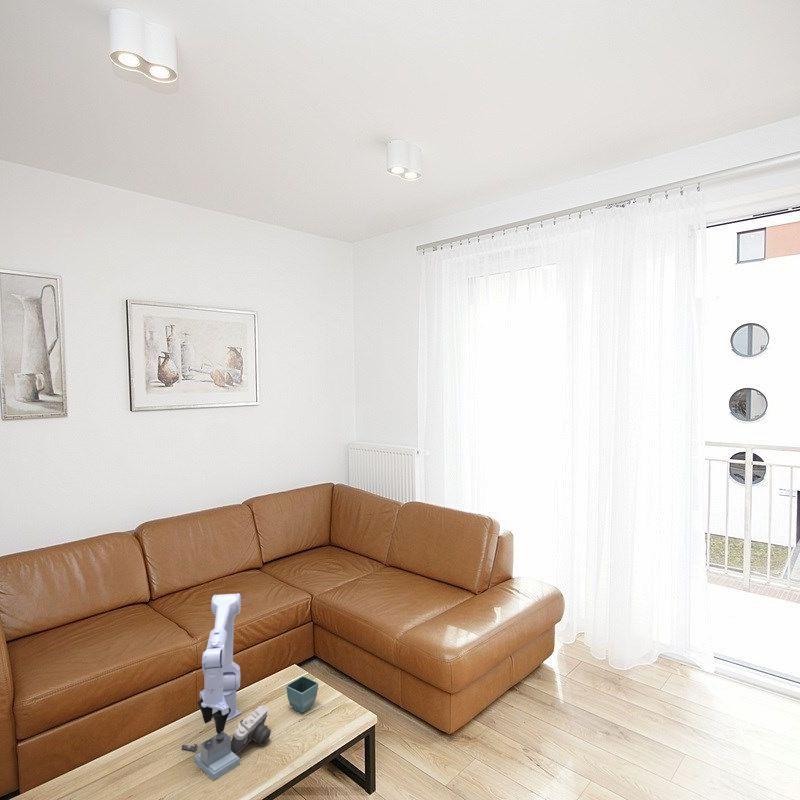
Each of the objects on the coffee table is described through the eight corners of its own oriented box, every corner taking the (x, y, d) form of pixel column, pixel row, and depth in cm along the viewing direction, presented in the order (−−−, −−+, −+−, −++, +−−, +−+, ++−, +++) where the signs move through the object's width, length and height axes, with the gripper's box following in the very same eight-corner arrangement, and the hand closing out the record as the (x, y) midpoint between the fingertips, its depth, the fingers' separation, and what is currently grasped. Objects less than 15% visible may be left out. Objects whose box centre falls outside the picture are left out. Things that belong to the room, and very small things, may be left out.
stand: (194, 761, 164) (194, 754, 164) (219, 747, 170) (219, 739, 170) (213, 780, 156) (213, 772, 156) (239, 764, 163) (239, 756, 163)
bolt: (180, 750, 169) (180, 744, 169) (184, 746, 171) (184, 740, 171) (194, 752, 168) (194, 746, 168) (197, 748, 170) (197, 742, 170)
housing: (200, 759, 161) (200, 740, 161) (223, 746, 167) (223, 728, 167) (207, 766, 158) (207, 747, 158) (230, 752, 164) (230, 734, 164)
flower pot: (302, 697, 198) (302, 675, 198) (319, 706, 193) (319, 682, 193) (285, 709, 191) (285, 685, 191) (301, 718, 186) (301, 693, 185)
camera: (223, 749, 168) (233, 725, 165) (255, 718, 182) (264, 696, 180) (244, 768, 165) (254, 743, 162) (275, 735, 179) (284, 712, 177)
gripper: (190, 682, 167) (191, 723, 167) (214, 700, 157) (214, 743, 158) (210, 673, 172) (211, 712, 172) (234, 690, 163) (234, 731, 163)
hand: (214, 726), depth 165 cm, fingers open, 7 cm apart
